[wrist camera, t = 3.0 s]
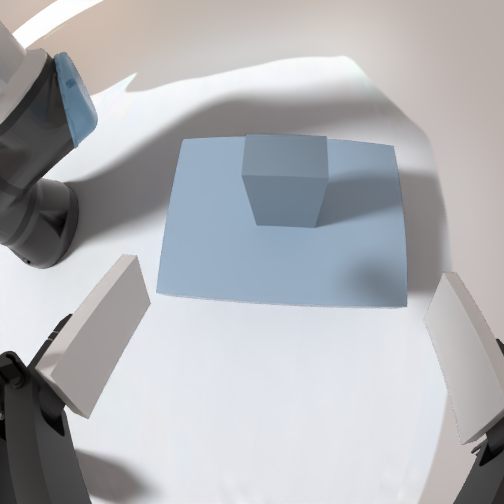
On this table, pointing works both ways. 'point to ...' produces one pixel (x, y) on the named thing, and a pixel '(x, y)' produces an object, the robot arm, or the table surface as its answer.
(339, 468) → the table surface
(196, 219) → the lid
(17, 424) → the robot arm
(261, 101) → the table surface
